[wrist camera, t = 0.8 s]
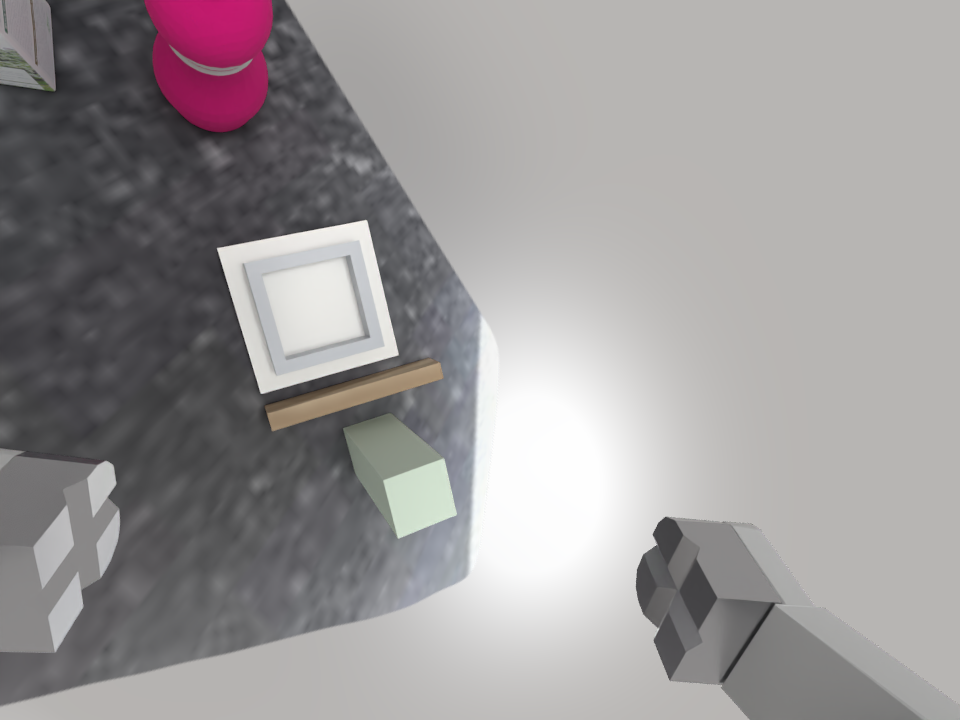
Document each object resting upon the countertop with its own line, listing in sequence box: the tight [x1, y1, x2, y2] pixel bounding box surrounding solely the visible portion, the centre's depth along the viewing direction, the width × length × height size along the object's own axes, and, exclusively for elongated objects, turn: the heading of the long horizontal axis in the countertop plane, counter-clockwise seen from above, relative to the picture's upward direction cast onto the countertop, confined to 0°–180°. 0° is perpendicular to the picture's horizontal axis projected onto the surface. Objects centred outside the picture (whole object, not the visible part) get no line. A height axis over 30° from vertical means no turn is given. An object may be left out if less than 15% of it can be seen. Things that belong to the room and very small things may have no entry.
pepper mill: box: [144, 0, 273, 132], centre depth 34 cm, size 7×7×20 cm
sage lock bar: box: [343, 413, 457, 539], centre depth 46 cm, size 4×4×14 cm
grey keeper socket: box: [217, 220, 399, 394], centre depth 47 cm, size 12×12×3 cm
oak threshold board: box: [265, 358, 443, 431], centre depth 50 cm, size 2×15×3 cm, turn 103°
